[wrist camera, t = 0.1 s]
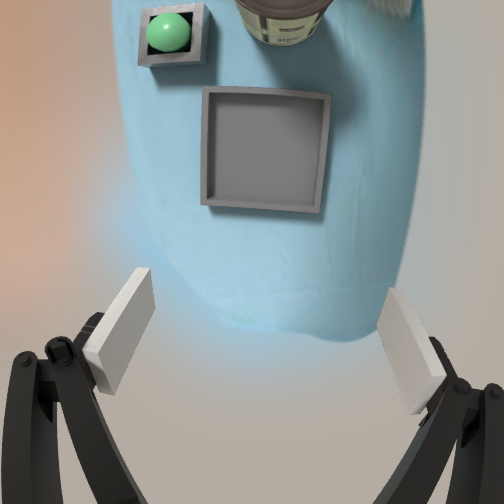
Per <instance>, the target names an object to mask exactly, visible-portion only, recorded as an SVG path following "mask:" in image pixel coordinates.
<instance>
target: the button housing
mask: <svg viewBox="0 0 504 504" xmlns="http://www.w3.org/2000/svg"><path fill="white" fill-rule="evenodd" d="M163 13H176V14H178V15H180V16H181V17H182V18H184V19H185V20H193V24H192V38H191V52H182V53H169V54H158V49H156V48H154V47H152V46H151V45H150V44H149V43H148V41H147V38H146V30H147V27H148V25H149V24H150V22H151V21H152V20H153V19H154V18H155V17H157V16H158V15H161V14H163ZM209 20H210V10H209V9H208V7H207V6H206V5H205V3H192V4H181V5H171V6H163V7H156V8H149V9H143V10H142V14H141V24H140V37H139V51H138V66H143V67H147V68H155V67H166V66H182V65H207V50H208V34H209Z"/></svg>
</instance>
